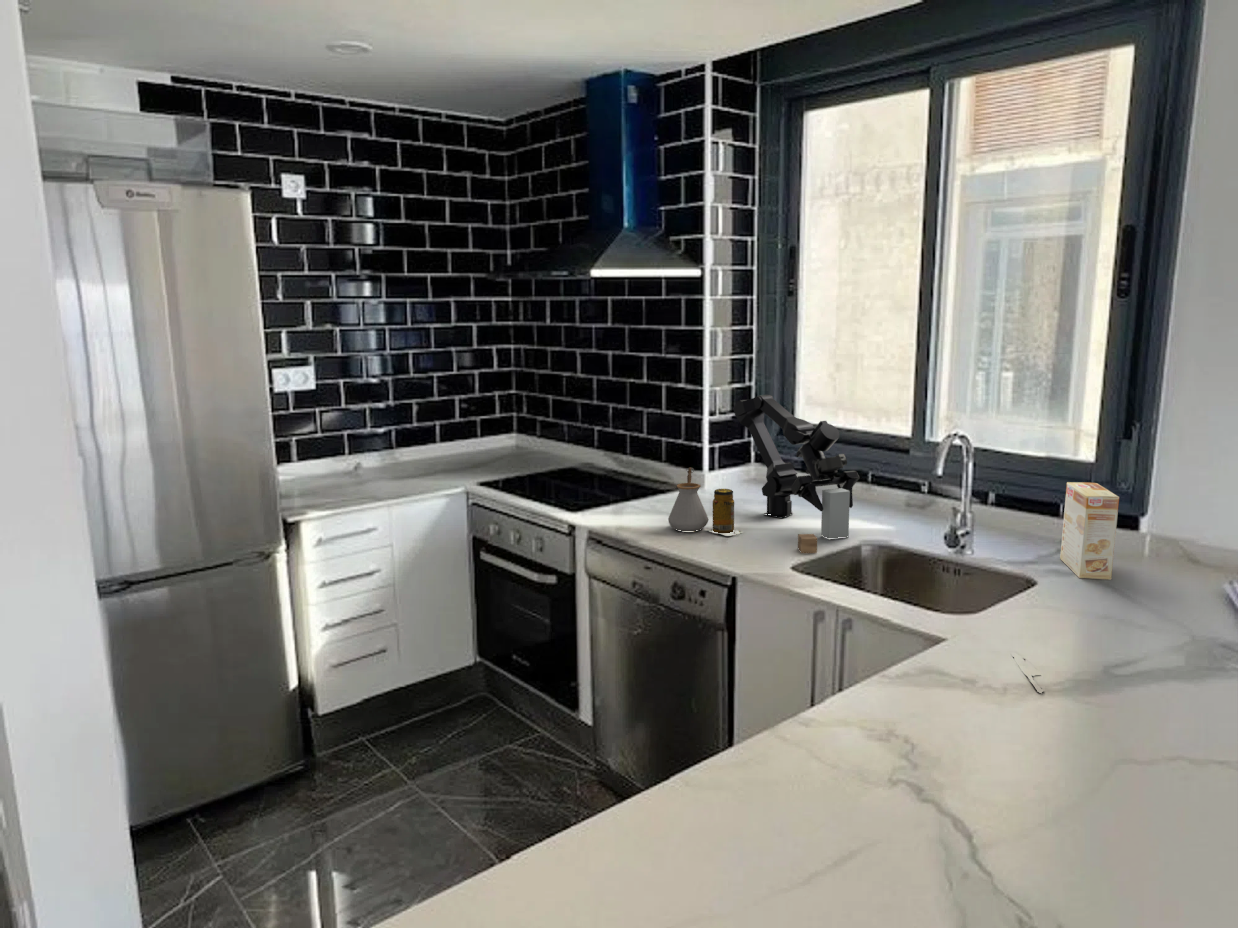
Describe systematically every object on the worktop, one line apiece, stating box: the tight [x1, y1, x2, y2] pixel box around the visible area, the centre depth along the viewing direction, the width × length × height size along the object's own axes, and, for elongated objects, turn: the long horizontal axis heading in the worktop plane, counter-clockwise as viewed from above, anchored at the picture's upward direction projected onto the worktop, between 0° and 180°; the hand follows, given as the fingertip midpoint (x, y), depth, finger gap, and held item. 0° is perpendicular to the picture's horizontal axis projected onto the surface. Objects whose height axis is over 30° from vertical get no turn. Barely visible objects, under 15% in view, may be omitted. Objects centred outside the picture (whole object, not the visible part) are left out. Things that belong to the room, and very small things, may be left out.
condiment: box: [711, 488, 735, 533], centre depth 236 cm, size 7×8×12 cm
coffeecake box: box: [1059, 481, 1120, 581], centre depth 198 cm, size 15×7×20 cm, turn 168°
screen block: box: [820, 487, 850, 538], centre depth 229 cm, size 4×6×13 cm, turn 109°
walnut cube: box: [797, 533, 818, 554], centre depth 219 cm, size 4×4×4 cm
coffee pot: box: [667, 466, 710, 531], centre depth 245 cm, size 21×12×15 cm, turn 173°
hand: (837, 508), depth 228 cm, fingers open, 9 cm apart
